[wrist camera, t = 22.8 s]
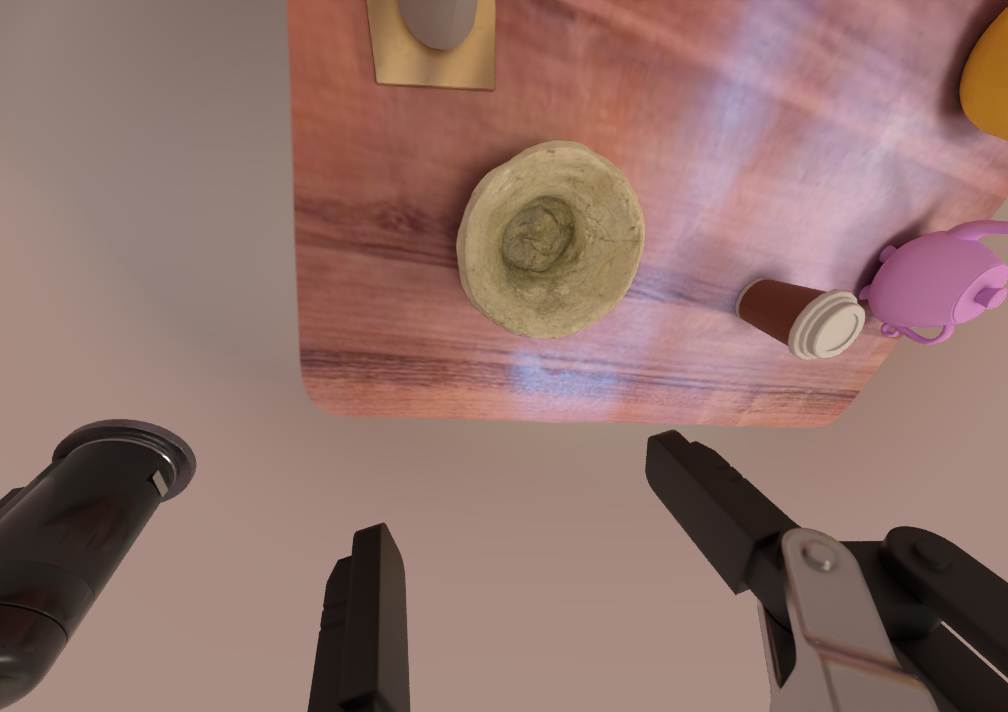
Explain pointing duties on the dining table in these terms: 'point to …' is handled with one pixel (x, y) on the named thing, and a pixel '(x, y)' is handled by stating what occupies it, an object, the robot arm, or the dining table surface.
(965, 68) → the vase
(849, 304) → the coffee cup
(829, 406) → the dining table surface
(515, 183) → the bowl
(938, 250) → the teapot
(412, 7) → the salt shaker
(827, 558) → the robot arm
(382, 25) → the wooden square board
